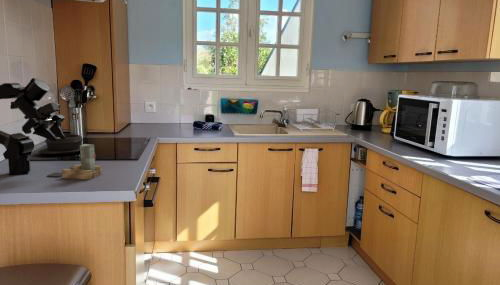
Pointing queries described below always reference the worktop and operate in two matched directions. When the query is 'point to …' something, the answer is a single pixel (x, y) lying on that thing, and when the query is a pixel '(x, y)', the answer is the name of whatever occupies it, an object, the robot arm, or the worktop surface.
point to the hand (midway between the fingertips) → (60, 139)
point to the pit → (55, 175)
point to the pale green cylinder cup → (88, 159)
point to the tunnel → (78, 172)
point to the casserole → (63, 145)
